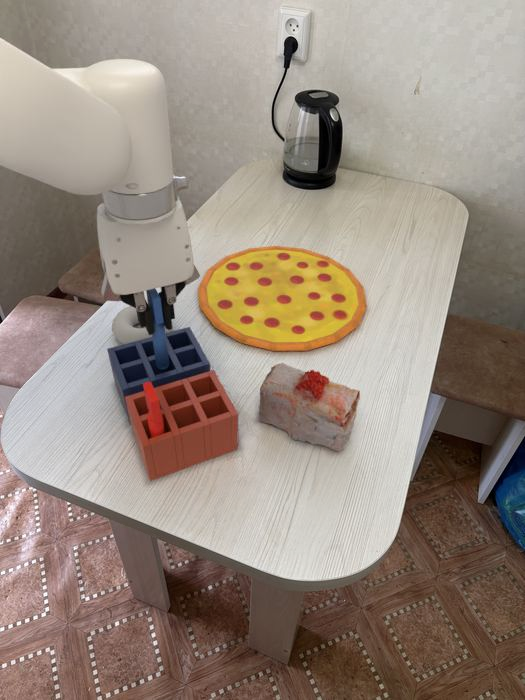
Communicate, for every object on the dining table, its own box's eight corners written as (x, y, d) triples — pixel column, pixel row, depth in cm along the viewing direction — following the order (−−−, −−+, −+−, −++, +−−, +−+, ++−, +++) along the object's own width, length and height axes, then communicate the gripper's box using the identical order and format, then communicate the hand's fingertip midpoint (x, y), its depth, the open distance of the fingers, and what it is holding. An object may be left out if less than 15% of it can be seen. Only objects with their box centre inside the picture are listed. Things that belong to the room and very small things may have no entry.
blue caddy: (130, 425, 73) (122, 389, 67) (115, 384, 78) (106, 348, 73) (211, 399, 77) (210, 363, 72) (192, 362, 83) (189, 326, 77)
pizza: (249, 234, 112) (249, 230, 111) (388, 279, 102) (389, 274, 101) (163, 313, 91) (162, 308, 90) (326, 379, 81) (327, 374, 80)
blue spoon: (160, 377, 70) (149, 300, 61) (153, 362, 72) (142, 286, 63) (172, 373, 71) (163, 297, 62) (165, 358, 73) (156, 282, 64)
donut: (134, 309, 92) (101, 342, 85) (131, 293, 90) (98, 326, 83) (182, 324, 90) (153, 359, 83) (181, 308, 87) (151, 343, 80)
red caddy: (150, 481, 66) (142, 446, 61) (132, 432, 72) (124, 396, 67) (237, 449, 71) (238, 414, 65) (214, 405, 76) (213, 369, 71)
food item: (357, 422, 75) (369, 376, 68) (341, 463, 70) (353, 418, 63) (272, 392, 79) (276, 346, 72) (251, 429, 73) (253, 383, 67)
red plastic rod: (158, 469, 67) (146, 403, 58) (151, 450, 69) (139, 384, 60) (171, 464, 68) (162, 398, 58) (164, 446, 70) (154, 380, 60)
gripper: (197, 168, 58) (203, 295, 71) (55, 191, 53) (90, 323, 66) (222, 197, 54) (224, 327, 66) (69, 226, 48) (103, 361, 61)
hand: (157, 324), depth 66 cm, fingers closed on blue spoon, 1 cm apart
